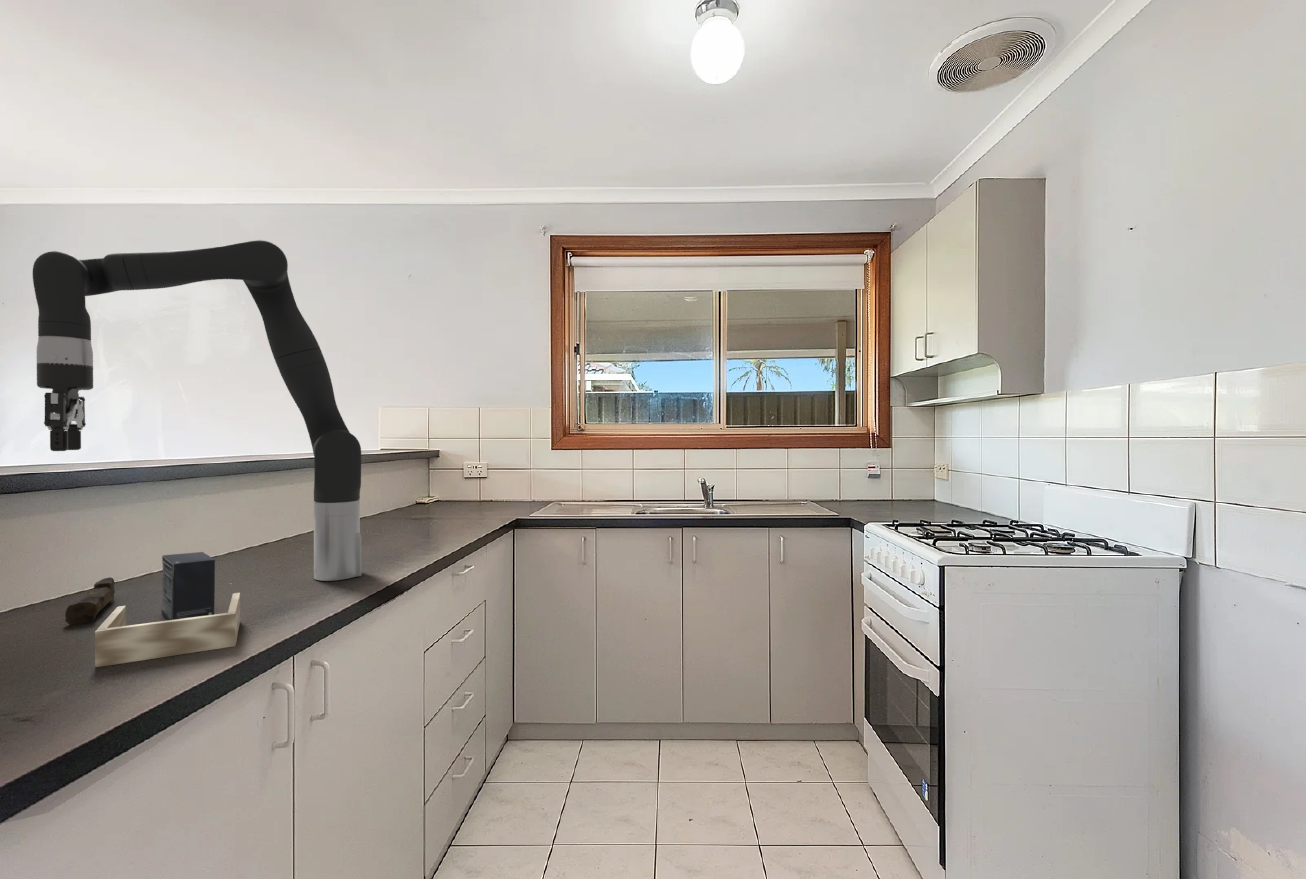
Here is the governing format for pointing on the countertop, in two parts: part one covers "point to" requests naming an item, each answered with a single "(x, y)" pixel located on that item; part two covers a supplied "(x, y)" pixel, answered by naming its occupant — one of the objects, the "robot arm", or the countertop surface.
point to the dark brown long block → (91, 603)
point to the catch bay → (164, 636)
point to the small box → (188, 585)
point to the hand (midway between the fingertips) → (66, 450)
